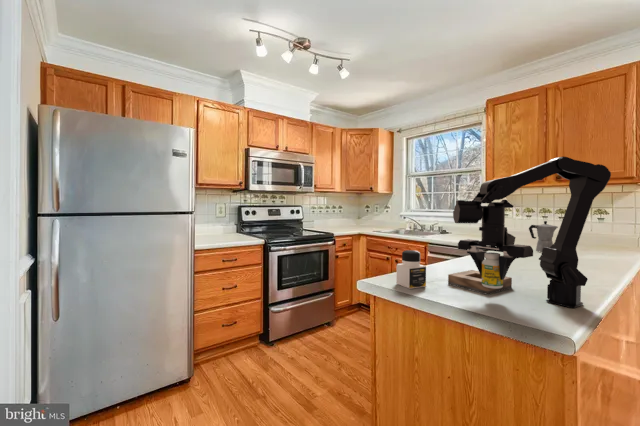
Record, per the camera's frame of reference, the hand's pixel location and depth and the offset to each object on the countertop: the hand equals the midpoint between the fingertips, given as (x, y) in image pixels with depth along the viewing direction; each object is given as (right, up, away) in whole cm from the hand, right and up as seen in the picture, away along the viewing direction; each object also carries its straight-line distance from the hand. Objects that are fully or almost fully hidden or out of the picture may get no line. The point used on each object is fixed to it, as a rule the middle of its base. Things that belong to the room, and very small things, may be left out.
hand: (492, 277), depth 87 cm
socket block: (+5, -6, +16) cm, 18 cm away
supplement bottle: (0, -3, 0) cm, 3 cm away
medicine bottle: (-18, -7, +17) cm, 26 cm away
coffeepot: (+84, -4, +93) cm, 126 cm away
